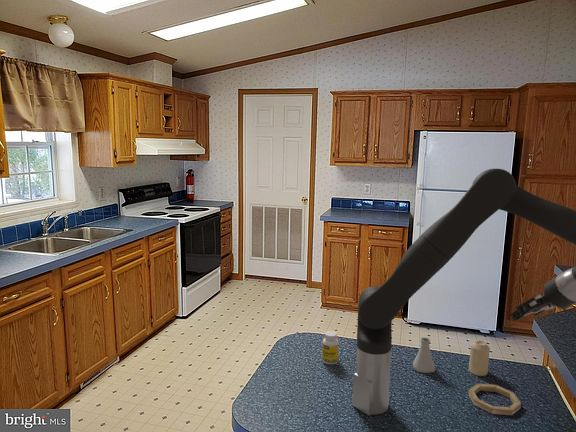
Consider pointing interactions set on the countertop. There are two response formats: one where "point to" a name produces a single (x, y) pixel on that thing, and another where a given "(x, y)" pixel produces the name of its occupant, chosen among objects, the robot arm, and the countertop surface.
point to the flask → (424, 358)
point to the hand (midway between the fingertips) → (523, 314)
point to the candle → (479, 358)
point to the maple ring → (490, 408)
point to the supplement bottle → (330, 348)
